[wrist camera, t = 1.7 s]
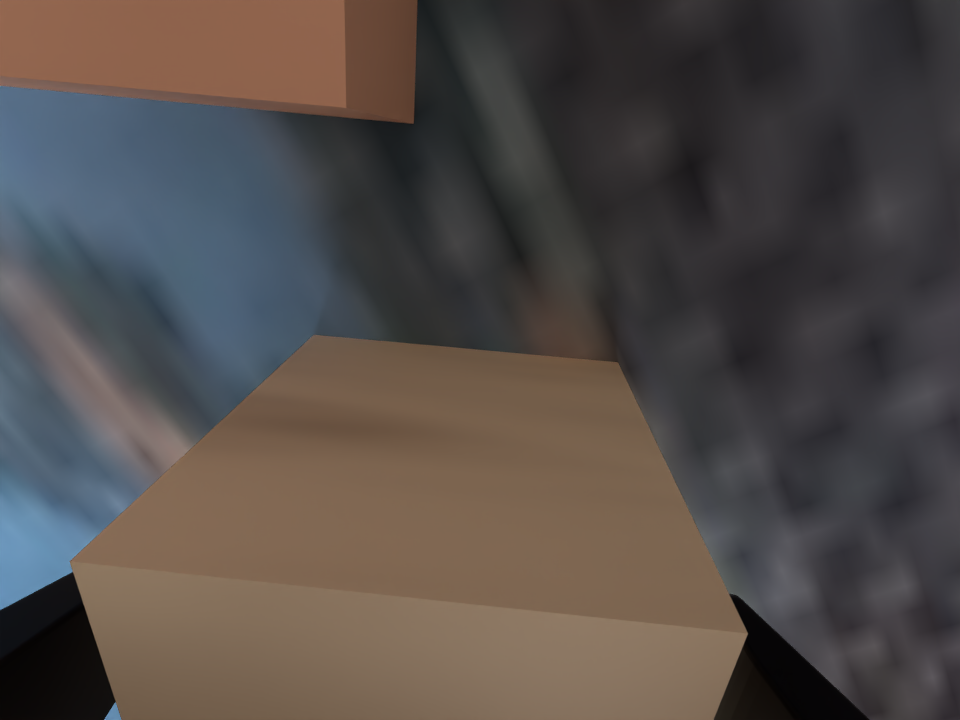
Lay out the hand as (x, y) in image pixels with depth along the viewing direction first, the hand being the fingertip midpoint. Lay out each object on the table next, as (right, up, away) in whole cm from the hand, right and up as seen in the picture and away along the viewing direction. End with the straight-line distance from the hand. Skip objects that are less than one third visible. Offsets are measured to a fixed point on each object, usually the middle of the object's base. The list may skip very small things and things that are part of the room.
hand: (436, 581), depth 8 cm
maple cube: (0, +1, +3) cm, 3 cm away
